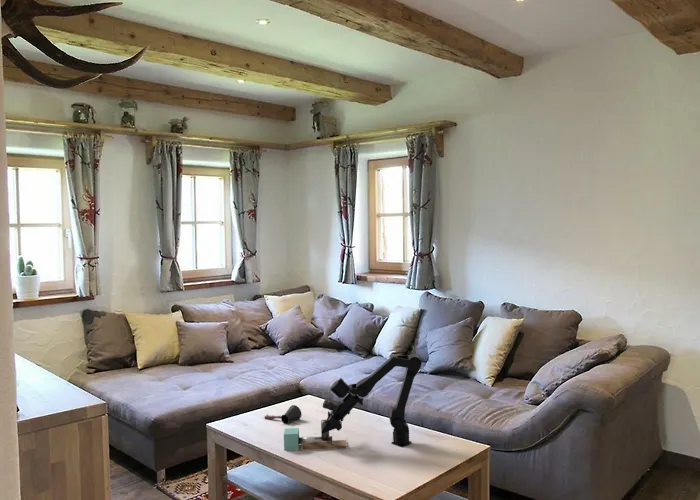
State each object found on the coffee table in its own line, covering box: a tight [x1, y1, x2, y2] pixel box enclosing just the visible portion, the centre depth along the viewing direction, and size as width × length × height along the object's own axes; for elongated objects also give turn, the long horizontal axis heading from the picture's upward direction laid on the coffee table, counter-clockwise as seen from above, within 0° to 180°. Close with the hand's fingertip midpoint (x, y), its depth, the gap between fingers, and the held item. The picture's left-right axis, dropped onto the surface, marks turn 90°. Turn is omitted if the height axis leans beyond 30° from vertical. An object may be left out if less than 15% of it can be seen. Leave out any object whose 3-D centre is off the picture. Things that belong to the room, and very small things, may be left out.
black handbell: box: [263, 404, 302, 425], centre depth 285 cm, size 8×18×8 cm
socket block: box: [283, 427, 300, 451], centre depth 249 cm, size 6×7×7 cm
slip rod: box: [298, 419, 330, 445], centre depth 249 cm, size 15×3×10 cm, turn 91°
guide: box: [301, 435, 347, 451], centre depth 250 cm, size 19×7×3 cm, turn 91°
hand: (321, 431), depth 249 cm, fingers closed on slip rod, 3 cm apart
